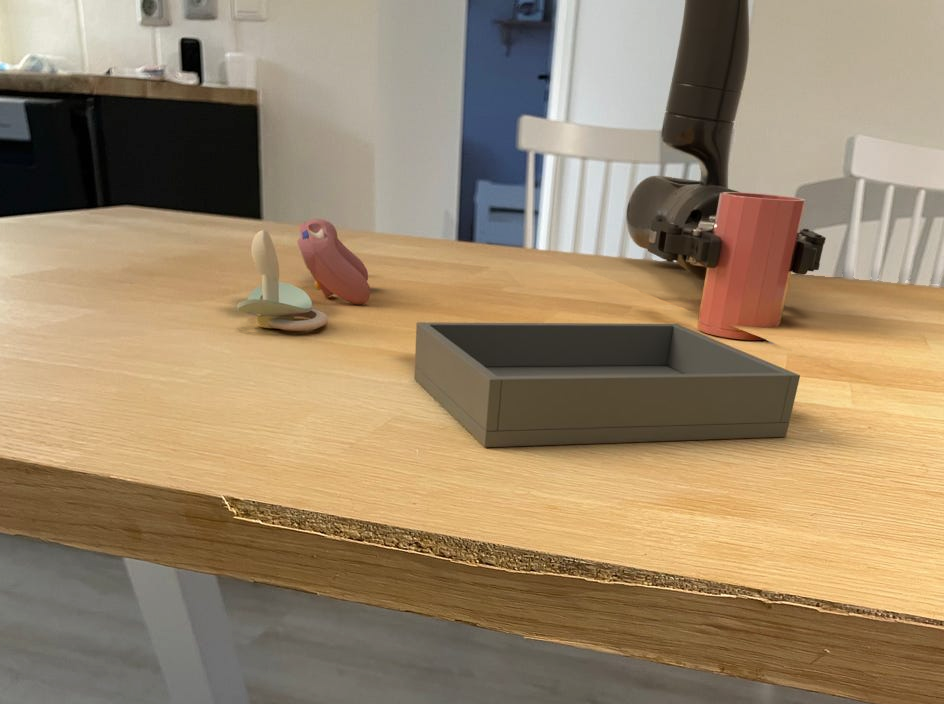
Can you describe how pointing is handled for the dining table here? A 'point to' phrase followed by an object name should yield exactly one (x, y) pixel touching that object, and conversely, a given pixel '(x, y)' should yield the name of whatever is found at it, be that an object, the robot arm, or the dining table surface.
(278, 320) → the pacifier
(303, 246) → the pink owl figurine
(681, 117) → the robot arm
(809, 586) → the dining table surface
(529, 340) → the shallow grey tray
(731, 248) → the tumbler
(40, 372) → the dining table surface
